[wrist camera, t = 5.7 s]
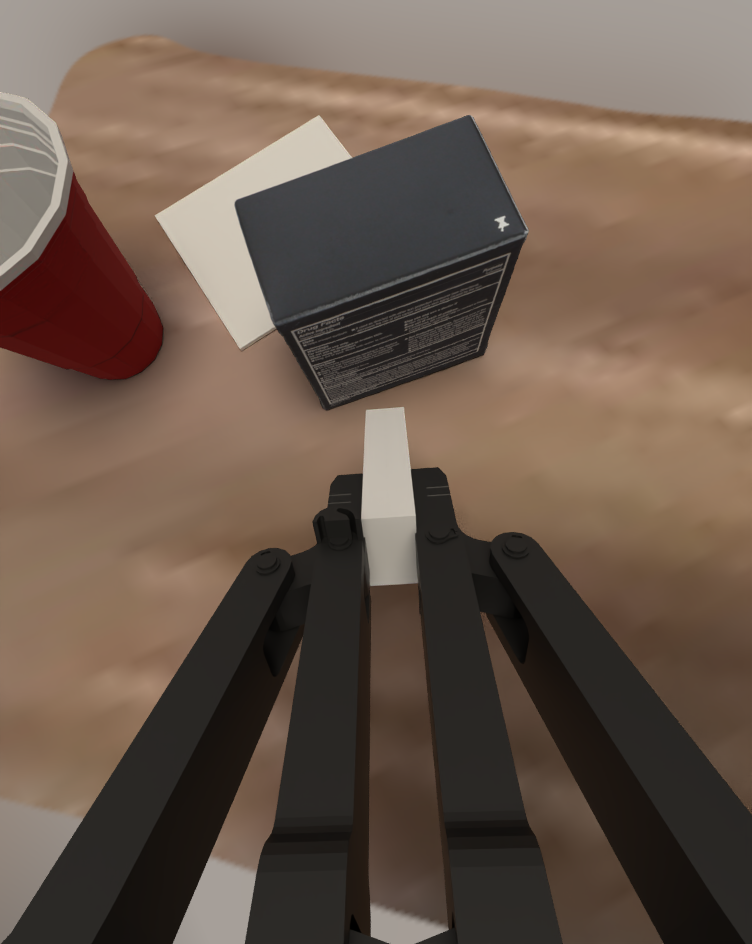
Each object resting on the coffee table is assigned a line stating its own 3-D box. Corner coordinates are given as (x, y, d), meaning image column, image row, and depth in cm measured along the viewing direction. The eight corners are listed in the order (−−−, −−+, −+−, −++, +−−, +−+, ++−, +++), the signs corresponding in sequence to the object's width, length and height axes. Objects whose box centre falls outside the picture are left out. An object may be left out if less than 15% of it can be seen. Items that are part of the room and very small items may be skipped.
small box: (449, 264, 28) (475, 100, 18) (488, 355, 27) (540, 235, 17) (291, 321, 28) (226, 189, 18) (323, 414, 27) (273, 331, 17)
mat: (414, 241, 28) (414, 238, 28) (241, 350, 28) (239, 348, 28) (320, 119, 31) (319, 115, 30) (157, 218, 30) (154, 215, 30)
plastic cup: (189, 241, 30) (46, 37, 18) (215, 393, 28) (74, 276, 16) (32, 281, 30) (-212, 105, 18) (47, 434, 28) (-215, 349, 16)
